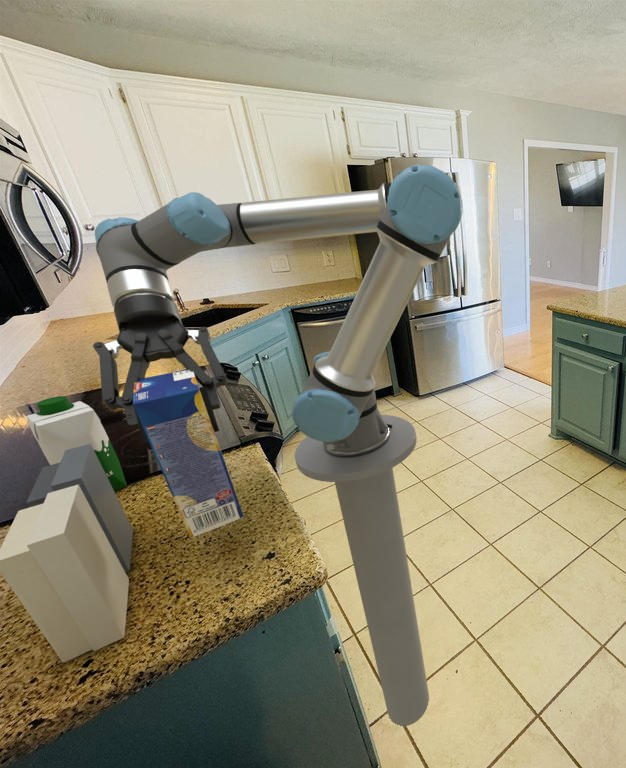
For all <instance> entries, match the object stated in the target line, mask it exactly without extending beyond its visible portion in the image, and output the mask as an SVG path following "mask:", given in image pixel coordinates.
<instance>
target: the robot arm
mask: <svg viewBox="0 0 626 768" xmlns="http://www.w3.org/2000/svg"><path fill="white" fill-rule="evenodd" d="M463 208H464V207H463V199H462V195H461V192H460V190H459V187H458V186H457V183H456V182H455V181H454V180H453V178H452V177H451V176H450V175H448V174H447V173H445V172H444V170H442V169H439V168H437V167H435V166H433V165H429V164H415V165H411V166H409V167H407V168H405V169H403V170H402V171H400V172H399V173H398V175H397V176H395V177H394V179H393V180H392V182H384V183H382V184H381V185H380V187H379V188H378V189H371V190H360V191H349V192H341V193H340V192H339V193H329V194H318V195H317V194H316V195H309V196H307V195H306V196H296V197H287V198H277V199H267V200H266V199H265V200H257V201H255V200H254V201H246V202H244V201H243V202H234V203H233V202H232V203H222V204H216V203H215V202H214V201H213V200H212V199H211V198H210V197H208V196H205V195H204V194H202V193H200V192H198V191H197V192H196V191H192V192H188V193H186V194H184V195H182V196H179V197H175V198H172V199H171V201H169V202H168V203H166V204H165V205H164V206H162V207H160V208H158V209H157V210H155V211H153V212H152V213H150V214H148V215H147V216H144V217H143V218H141V219H139V220H138V219H136V218H135V219H134V218H130V217H123V216H120V217H117V218H106V219H104V220H102V221H101V222H99V223H98V224H97V225H96V227H95V228H94V237H95V250H96V254H97V256H98V258H99V260H100V264H101V267H102V271H103V275H104V278H105V281H106V287H107V290H108V295H109V298H110V302H111V305H112V307H113V313H114V317H115V321H116V324H117V329H118V335H117V337H116V340H113V341H109V342H106V343H104V342H102V341H96V342H94V343H93V344H92V347H93V349H94V351H95V352H96V354H97V355H98V357H99V368H100V369H99V371H100V384H101V400H102V402H103V403H104V405H106V407H107V408H109V409H110V410H118V409H123V410H124V415H125V419H126V422H127V424H128V426H130V428H132V430H136V429H139V432H140V435H141V440H142V443H143V444H144V446H145V447H146V449H148V450H149V451H151V450H152V447H151V445H150V443H149V440H148V438H147V436H146V433H145V431H144V429H143V426H142V424H141V422H140V419H139V417H138V415H137V412H136V410H135V408H134V405H133V396H134V383H136V382H138V381H139V380H140V379H142V378H146V375H147V370H148V369H149V368H150V364H151V363H152V362H157V361H160V360H162V359H163V360H164V359H165V360H166V359H167V360H169V359H174V358H175V359H176V360H177V362H178V363H180V364H181V365H182V367H184V369H185V370H187V369H189V370H190V371H192V372H194V375H195V378H196V380H197V383H199V385H201V387H200V386H199V389H200V392H201V395H202V398H203V401H204V404H205V407H206V410H207V413H208V416H209V419H210V421H211V424H212V427H213V430H214V432H215V433H217V432H220V428H219V425H218V422H217V418H216V416H215V413H214V410H219V409H221V406H222V403H221V400H220V397H219V395H218V392H217V391H218V389H219V388H220V387H224V386H226V385H228V378H227V374H226V372H225V370H224V369H223V366H222V365H221V363H220V361H219V359H218V357H217V354H216V352H215V351H214V349H213V346H212V345H211V336H210V332H209V329H208V328H207V327H206V326H201V327H199V328H198V329H188V328H187V327H186V326H184V325H183V322H182V319H181V316H180V312H179V310H178V309H179V308H178V306H177V304H176V299H175V297H174V293H173V290H172V287H171V283H170V281H169V278H168V277H169V276H168V274H167V271H168V270H169V269H171V268H174V267H175V266H177V265H179V264H181V263H182V262H184V261H187V259H190V258H192V257H193V256H195V255H197V254H199V253H202V252H207V251H214V250H219V249H226V248H234V247H235V248H236V247H243V246H245V247H246V246H253V245H260V244H268V243H269V244H271V243H281V242H290V241H299V240H309V239H319V238H330V237H339V236H349V235H358V234H367V233H368V234H369V233H377V235H378V238H379V244H378V246H377V248H376V250H375V252H374V254H373V257H372V259H371V261H370V263H369V266H368V268H367V270H366V272H365V275H364V277H363V279H362V281H361V283H360V286H359V288H358V290H357V292H356V294H355V296H354V299H353V301H352V303H351V304H350V308H349V310H348V312H347V314H346V316H345V318H344V320H343V323H342V325H341V327H340V329H339V331H338V333H337V336H336V338H335V341H333V342H334V343H333V344H332V347H331V349H330V351H324V352H321V353H318V354H316V355H315V356H314V357H313V360H312V361H313V368H312V370H311V372H310V374H309V376H308V378H307V381H306V383H305V385H304V387H303V389H302V391H301V393H299V394H298V396H297V397H296V398H295V400H294V402H293V406H292V409H291V415H292V420H293V422H294V424H295V425H296V427H297V429H298V430H299V431H300V432H301V433H302V434H303V435H305V436H306V437H307V436H308V437H310V438H312V439H314V440H318V441H322V442H323V446H324V450H325V451H326V453H328V454H329V455H331V456H335V457H341V458H349V457H357V456H362V455H365V454H369V453H371V452H374V451H376V450H378V449H379V448H381V447H382V446H384V445H385V444H386V443H387V441H388V440H389V437H390V434H389V428H392V425H390V424H387V423H386V422H385V420H384V419H383V417H382V415H383V414H382V413H381V411H380V410H379V408H378V402H377V396H376V391H375V387H376V384H377V383H376V380H375V378H374V375H373V374H374V372H375V369H376V367H377V365H378V363H379V361H380V359H381V357H382V355H383V353H384V351H385V349H386V347H387V345H388V343H389V341H390V339H391V337H392V335H393V333H394V331H395V329H396V327H397V325H398V323H399V321H400V319H401V316H402V315H403V313H404V311H405V308H406V307H407V305H408V303H409V300H410V298H411V297H412V295H413V292H414V290H415V288H416V287H417V284H418V283H419V281H420V278H421V276H422V275H423V273H424V270H425V268H426V267H428V266H430V265H433V264H437V263H438V261H439V259H440V258H441V256H442V255H443V252H444V249H445V248H446V246H447V244H448V241H449V240H450V238H451V236H452V235H453V233H455V231H456V230H457V229H458V227H459V225H460V222H461V220H462V216H463ZM189 339H192V340H193V342H194V343H195V344H196V345H200V348H201V352H202V353H203V355H204V357H205V359H206V361H207V363H208V365H209V367H210V369H211V371H212V373H213V375H214V376H213V377H210V376H209V375H208V374H207V373H206V371H205V370H204V369H203V368H202V367H201V366H200V365H199V364H198V363H197V362H196V360H194V359H193V358H192V356H191V355H190V354H188V353H187V351H186V349H185V348H184V347H185V345H186V344H187V342H188V341H189ZM120 350H124V351H125V352H128V353H129V354H131V355H130V363H129V364H130V365H129V368H128V372H127V376H126V379H125V383H124V386H123V390H122V395H121V396H120V385H119V373H118V363H117V361H116V359H118V357H119V356H120ZM388 427H389V428H388Z"/></svg>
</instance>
